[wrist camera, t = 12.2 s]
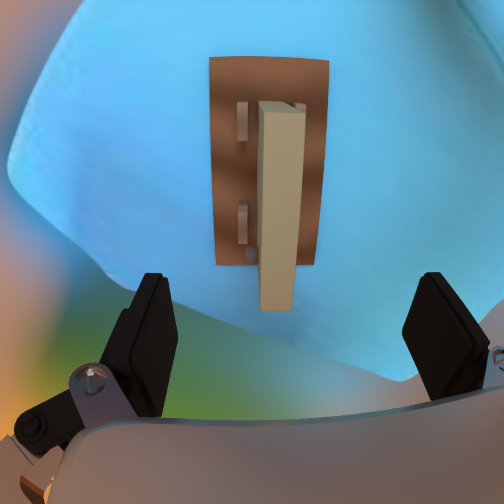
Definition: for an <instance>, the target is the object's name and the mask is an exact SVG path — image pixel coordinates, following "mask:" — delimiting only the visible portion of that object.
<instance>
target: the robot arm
mask: <svg viewBox="0 0 504 504" xmlns="http://www.w3.org/2000/svg"><path fill="white" fill-rule="evenodd" d="M402 336H403V339H404V341H405V343H406V345H407V347H408V349H409V352H410V354H411V356H412V358H413V360H414V363H415V365H416V367H417V369H418V372H419V374H420V376H421V379H422V381H423V383H424V385H425V388H426V390H427V392H428V395H429V397H430V400H431V401H429V402H425V403H420V404H415V405H409V406H404V407H398V408H392V409H387V410H380V411H374V412H367V413H358V414H350V415H341V416H331V417H319V418H306V419H289V420H252V421H251V420H240V421H239V420H201V419H182V418H158V417H161V416H162V412H163V407H164V402H165V397H166V393H167V388H168V383H169V378H170V373H171V369H172V365H173V360H174V356H175V351H176V347H177V342H178V332H177V327H176V322H175V316H174V311H173V305H172V300H171V294H170V288H169V282H168V278H167V277H163V275H162V274H161V273H145V275H144V277H143V279H142V281H141V283H140V285H139V288H138V290H137V292H136V294H135V296H134V299H133V301H132V303H131V305H130V307H129V309H126V308H125V309H123V311H122V312H121V314H120V316H119V318H118V320H117V322H116V325H115V327H114V329H113V332H112V334H111V336H110V338H109V340H108V343H107V345H106V347H105V350H104V352H103V354H102V357H101V359H100V362H99V363H96V362H95V363H87V364H83V365H81V366H80V367H78V368H77V369H76V370H75V371H74V372H73V373H72V374H71V376H70V378H69V383H68V385H69V389H68V390H66V391H64V392H62V393H60V394H58V395H56V396H54V397H53V398H51V399H49V400H47V401H45V402H43V403H41V404H39V405H37V406H35V407H33V408H31V409H29V410H27V411H25V412H24V413H22V414H21V415H20V416H19V417H18V419H17V421H16V423H15V426H14V434H13V435H12V436H11V437H10V436H9V435H6V437H4V438H3V439H2V440H1V441H0V504H45V502H44V498H43V497H44V491H45V489H46V488H47V487H48V486H49V485H50V484H51V483H52V486H51V489H50V493H49V497H48V501H47V504H504V347H501V346H496V347H493V348H492V349H491V350H490V351H489V349H488V345H489V344H490V341H489V340H488V338H487V336H486V335H485V334H484V332H483V330H482V329H481V327H480V326H479V324H478V323H477V322H476V320H475V319H474V317H473V316H472V314H471V313H470V312H469V310H468V309H467V307H466V306H465V305H464V303H463V302H462V300H461V299H460V298H459V296H458V295H457V294H456V292H455V291H454V290H453V288H452V287H451V286H450V284H449V283H448V282H447V281H446V279H445V278H444V277H443V275H442V274H441V273H440V272H427V273H425V274H424V276H422V277H421V278H420V281H419V284H418V287H417V290H416V293H415V296H414V299H413V302H412V304H411V307H410V310H409V313H408V315H407V318H406V321H405V323H404V326H403V329H402ZM54 475H55V476H54ZM53 476H54V479H53V481H52V480H51V478H52V477H53Z"/></svg>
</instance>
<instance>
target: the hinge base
mask: <svg viewBox="0 0 504 504" xmlns="http://www.w3.org/2000/svg"><path fill="white" fill-rule="evenodd" d="M209 70H210V133H211V167H212V193H213V215H214V235H215V253H216V265H258V263H245V247H257V230H256V226H257V148H258V101H280V102H284V103H286V104H288V105H290V106H292V107H294V108H295V109H297V110H299V111H301V112H303V113H305V114H306V117H305V139H304V159H303V176H302V191H301V206H300V219H299V232H298V245H297V256H296V265H314V260H315V252H316V243H317V234H318V225H319V215H320V205H321V194H322V183H323V171H324V158H325V144H326V128H327V110H328V87H329V61H327V60H317V59H305V58H290V57H264V56H230V57H209Z"/></svg>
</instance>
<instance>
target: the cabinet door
mask: <svg viewBox="0 0 504 504" xmlns="http://www.w3.org/2000/svg"><path fill="white" fill-rule="evenodd" d="M305 117H306V114H305V113H303V112H301V111H299V110H297V109H295V108H294V107H292V106H290V105H288V104H286V103H284V102H280V101H258V148H257V226H256V230H257V247H245V263H258V277H259V301H260V311H291V308H292V298H293V288H294V278H295V267H296V256H297V245H298V232H299V219H300V206H301V191H302V176H303V159H304V139H305Z"/></svg>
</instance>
